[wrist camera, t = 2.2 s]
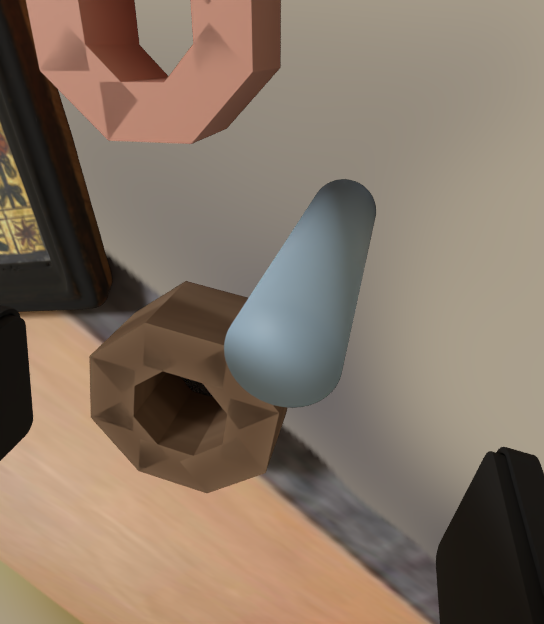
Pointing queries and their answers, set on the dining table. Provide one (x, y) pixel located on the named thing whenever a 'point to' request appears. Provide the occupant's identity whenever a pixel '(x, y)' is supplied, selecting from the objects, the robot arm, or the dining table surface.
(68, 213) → the religious icon
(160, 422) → the bead
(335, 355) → the dowel
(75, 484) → the dining table surface
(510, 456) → the robot arm
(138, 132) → the pink octagonal nut
